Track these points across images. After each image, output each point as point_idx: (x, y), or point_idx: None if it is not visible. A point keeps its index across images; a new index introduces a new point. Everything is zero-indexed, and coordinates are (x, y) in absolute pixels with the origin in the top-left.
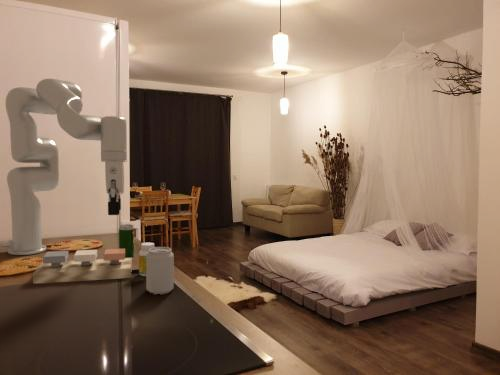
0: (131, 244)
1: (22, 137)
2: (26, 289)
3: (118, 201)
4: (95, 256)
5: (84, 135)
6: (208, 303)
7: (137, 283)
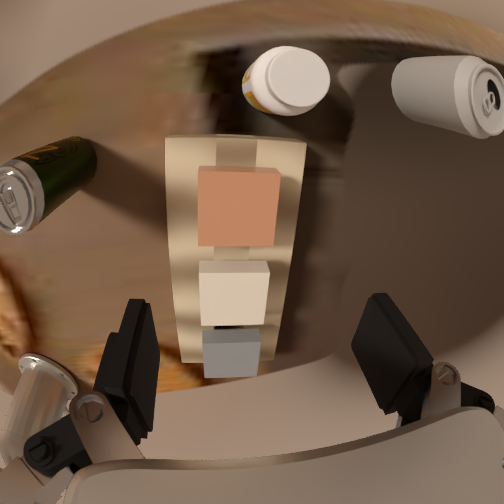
0: (67, 152)
1: None
2: (299, 344)
3: (139, 372)
4: (263, 268)
5: None
6: (478, 41)
7: (350, 127)
